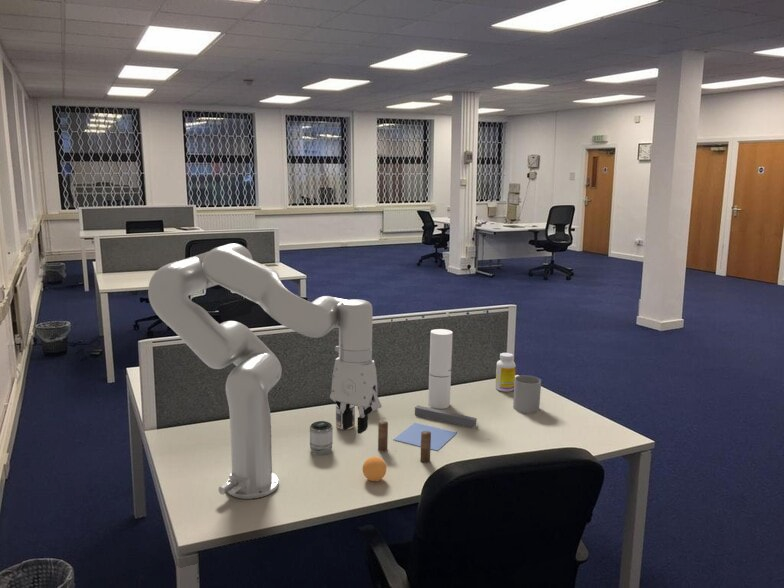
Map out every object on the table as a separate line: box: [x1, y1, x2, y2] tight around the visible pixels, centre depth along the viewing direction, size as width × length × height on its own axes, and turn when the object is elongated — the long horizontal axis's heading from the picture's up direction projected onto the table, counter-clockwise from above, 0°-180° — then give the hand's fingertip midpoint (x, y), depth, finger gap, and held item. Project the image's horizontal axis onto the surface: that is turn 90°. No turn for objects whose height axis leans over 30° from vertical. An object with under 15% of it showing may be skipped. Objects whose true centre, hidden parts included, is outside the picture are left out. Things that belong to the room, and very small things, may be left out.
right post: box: [420, 431, 431, 464], centre depth 169 cm, size 3×3×8 cm
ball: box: [362, 456, 387, 482], centre depth 158 cm, size 6×6×6 cm
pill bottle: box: [335, 403, 356, 431], centre depth 190 cm, size 6×6×10 cm
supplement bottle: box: [495, 352, 517, 393], centre depth 224 cm, size 7×7×13 cm
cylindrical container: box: [427, 328, 454, 410], centre depth 207 cm, size 7×7×25 cm
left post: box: [377, 420, 389, 453], centre depth 175 cm, size 3×3×8 cm
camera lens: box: [309, 420, 334, 456], centre depth 174 cm, size 6×6×8 cm
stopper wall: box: [414, 405, 478, 429], centre depth 196 cm, size 2×20×2 cm, turn 62°
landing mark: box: [393, 422, 458, 452], centre depth 185 cm, size 14×14×1 cm
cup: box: [512, 374, 542, 414], centre depth 207 cm, size 8×8×10 cm
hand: (354, 429), depth 147 cm, fingers open, 3 cm apart
